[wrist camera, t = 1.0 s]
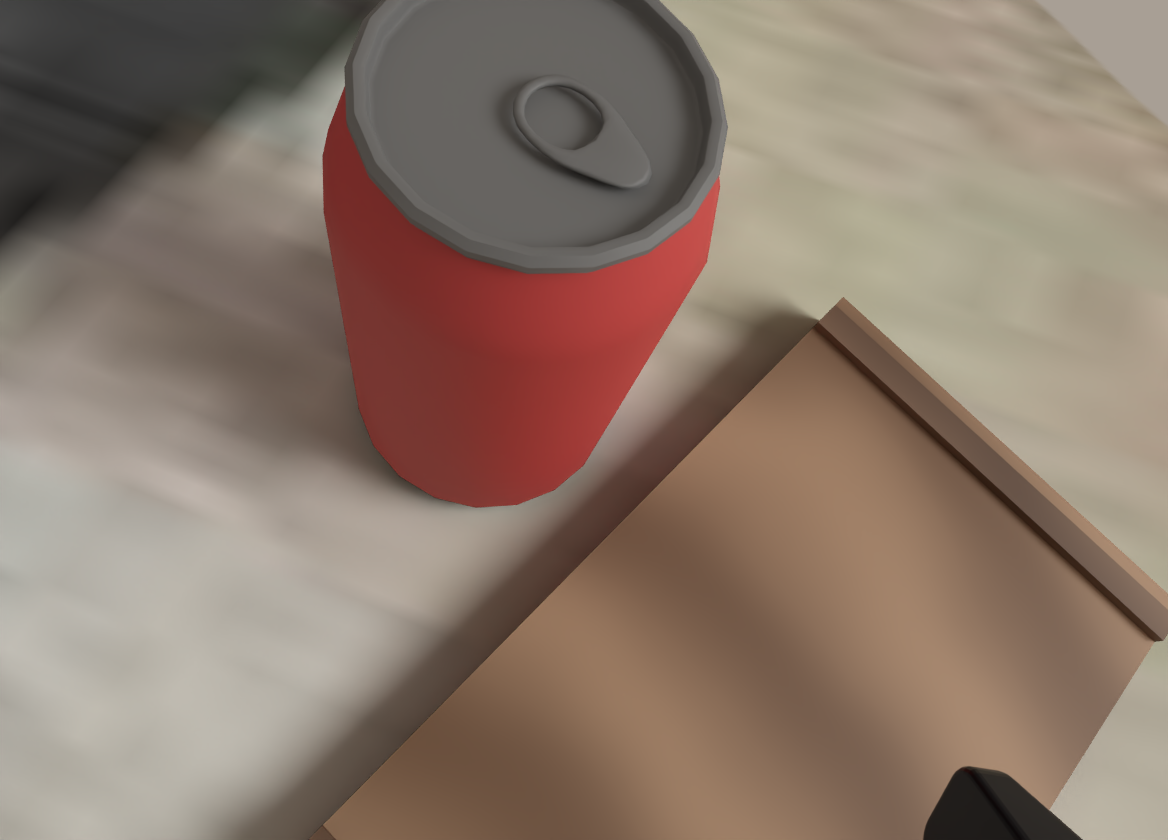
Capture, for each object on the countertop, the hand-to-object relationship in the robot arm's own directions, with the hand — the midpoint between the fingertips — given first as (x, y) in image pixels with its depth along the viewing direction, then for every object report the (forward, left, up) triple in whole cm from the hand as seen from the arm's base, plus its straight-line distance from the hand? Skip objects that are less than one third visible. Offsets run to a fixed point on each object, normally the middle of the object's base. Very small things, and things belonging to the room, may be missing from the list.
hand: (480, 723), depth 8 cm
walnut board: (+6, -6, -14) cm, 16 cm away
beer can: (+7, +5, -14) cm, 17 cm away
